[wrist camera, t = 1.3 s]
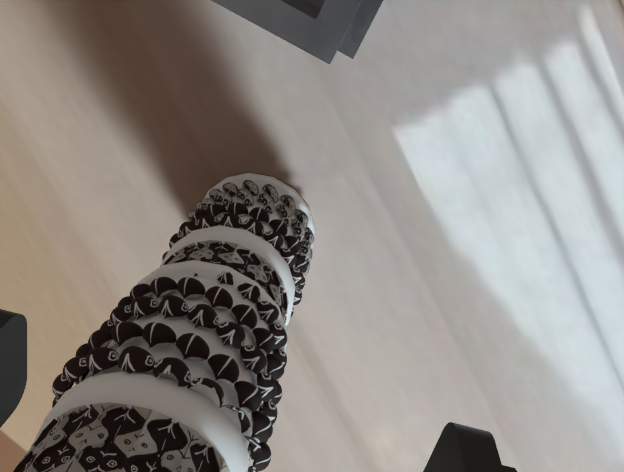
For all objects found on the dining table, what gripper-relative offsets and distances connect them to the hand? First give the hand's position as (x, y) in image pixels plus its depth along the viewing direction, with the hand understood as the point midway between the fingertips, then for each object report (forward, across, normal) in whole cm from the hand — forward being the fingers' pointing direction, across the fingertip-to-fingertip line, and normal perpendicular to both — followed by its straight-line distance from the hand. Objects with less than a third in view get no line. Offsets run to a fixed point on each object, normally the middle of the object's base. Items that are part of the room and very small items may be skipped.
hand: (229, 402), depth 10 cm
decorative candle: (+26, +2, +9) cm, 28 cm away
